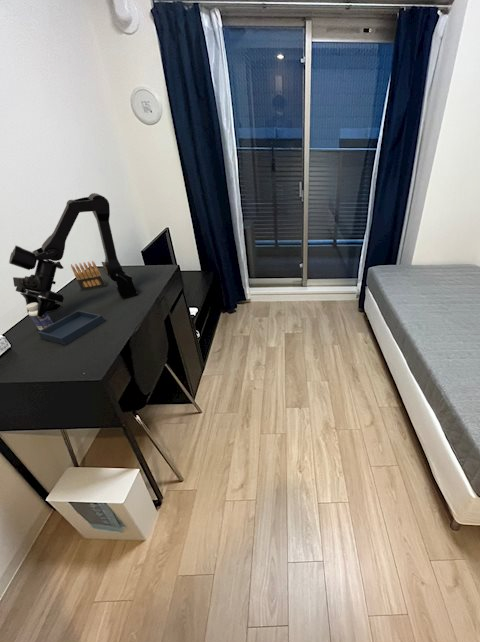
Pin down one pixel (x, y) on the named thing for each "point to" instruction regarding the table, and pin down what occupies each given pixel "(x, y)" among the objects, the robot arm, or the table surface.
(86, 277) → the ammunition clip
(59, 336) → the tray
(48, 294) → the robot arm
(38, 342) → the table surface
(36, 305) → the pill bottle
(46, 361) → the table surface
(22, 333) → the table surface
